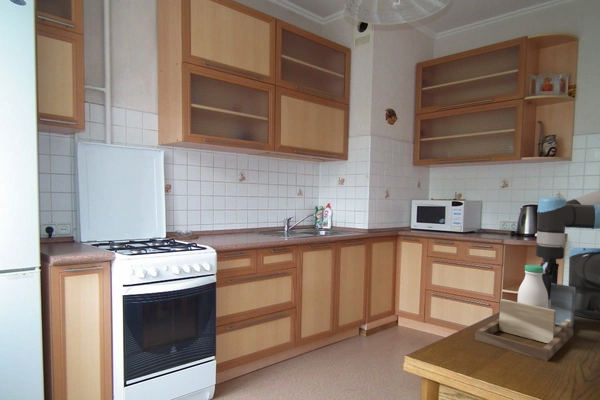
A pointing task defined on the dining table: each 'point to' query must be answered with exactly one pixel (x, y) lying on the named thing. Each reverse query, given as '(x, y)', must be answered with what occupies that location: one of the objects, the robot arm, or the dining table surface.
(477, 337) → the dark wooden tray
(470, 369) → the dining table surface
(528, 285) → the milk bottle
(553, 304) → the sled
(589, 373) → the dining table surface
